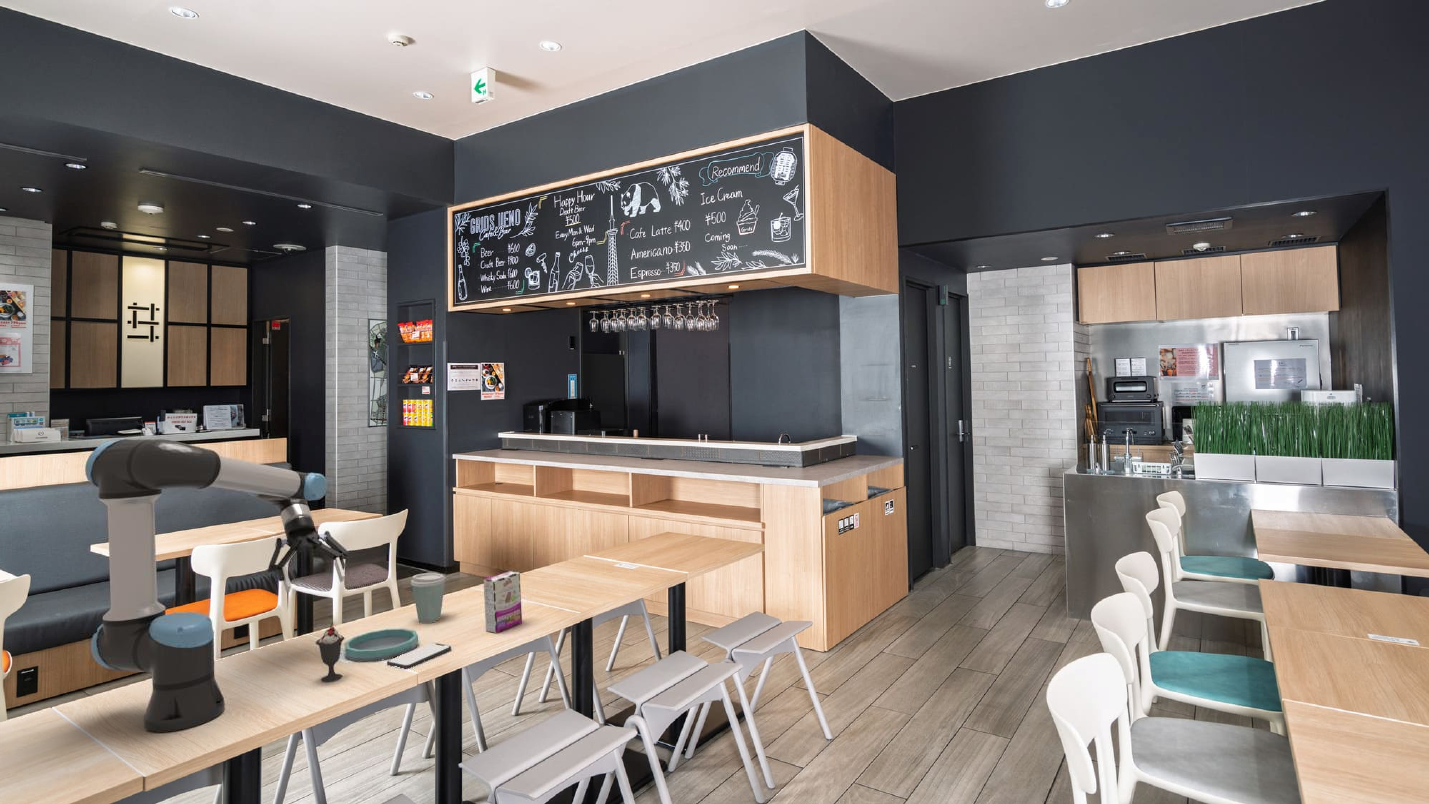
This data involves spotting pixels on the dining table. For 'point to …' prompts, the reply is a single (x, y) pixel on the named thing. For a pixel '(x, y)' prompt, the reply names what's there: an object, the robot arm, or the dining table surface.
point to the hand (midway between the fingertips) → (316, 584)
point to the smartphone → (419, 655)
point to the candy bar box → (502, 601)
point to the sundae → (330, 652)
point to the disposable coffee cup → (428, 596)
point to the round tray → (381, 644)
